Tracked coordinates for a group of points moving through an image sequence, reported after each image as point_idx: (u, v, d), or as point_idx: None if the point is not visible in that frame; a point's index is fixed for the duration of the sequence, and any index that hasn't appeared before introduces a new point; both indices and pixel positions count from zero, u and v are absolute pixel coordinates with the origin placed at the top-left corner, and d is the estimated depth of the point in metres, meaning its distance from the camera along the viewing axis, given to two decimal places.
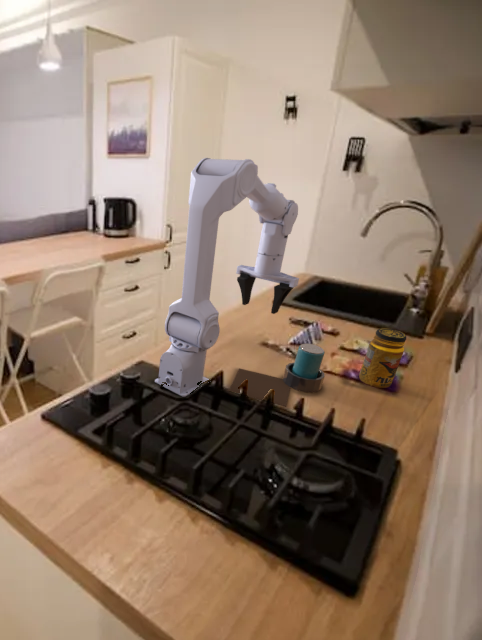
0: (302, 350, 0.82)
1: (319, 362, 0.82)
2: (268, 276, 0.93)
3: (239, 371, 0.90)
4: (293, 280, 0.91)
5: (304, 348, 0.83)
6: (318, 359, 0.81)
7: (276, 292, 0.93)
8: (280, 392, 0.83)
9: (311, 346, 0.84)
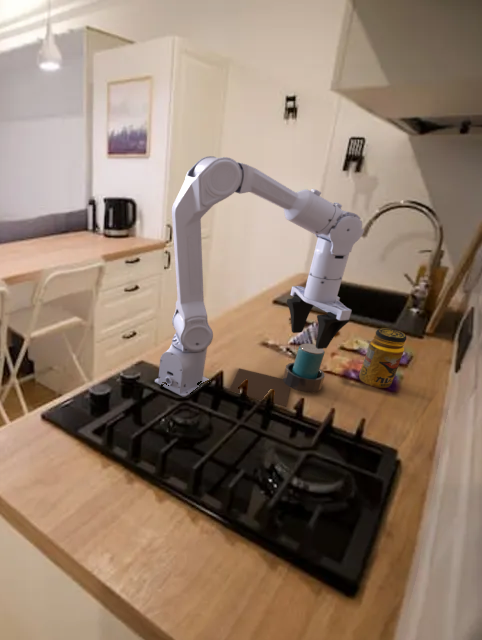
0: (302, 350, 0.82)
1: (319, 362, 0.82)
2: (313, 302, 0.78)
3: (239, 371, 0.90)
4: (340, 311, 0.73)
5: (304, 348, 0.83)
6: (318, 359, 0.81)
7: (320, 323, 0.77)
8: (280, 392, 0.83)
9: (311, 346, 0.84)
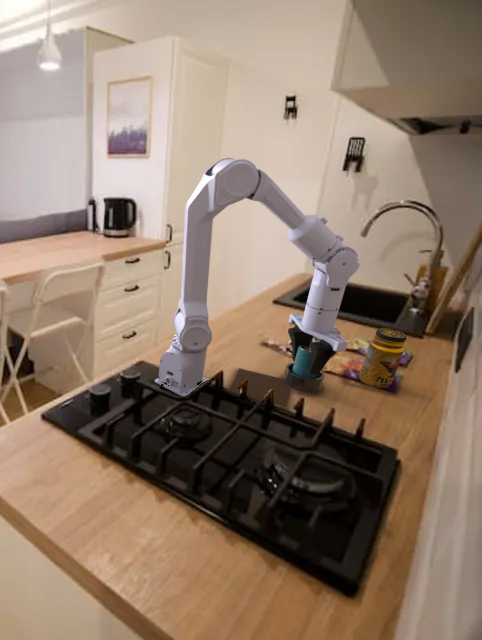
0: (302, 350, 0.82)
1: None
2: (311, 332, 0.79)
3: (239, 371, 0.90)
4: (337, 343, 0.75)
5: (304, 348, 0.83)
6: None
7: (313, 350, 0.79)
8: (280, 392, 0.83)
9: None
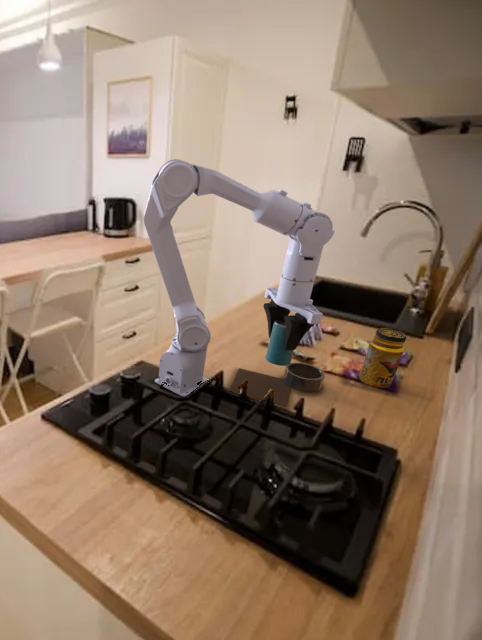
0: (277, 325, 0.79)
1: None
2: (285, 305, 0.75)
3: (239, 371, 0.90)
4: (311, 315, 0.71)
5: (279, 323, 0.79)
6: None
7: (287, 324, 0.76)
8: (280, 392, 0.83)
9: None
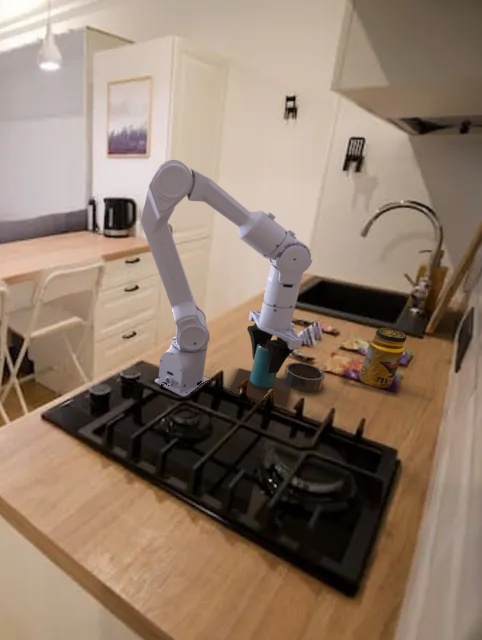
0: (260, 348, 0.81)
1: None
2: (267, 330, 0.77)
3: (239, 371, 0.90)
4: (291, 340, 0.73)
5: (262, 346, 0.81)
6: None
7: (269, 348, 0.77)
8: (280, 392, 0.83)
9: None
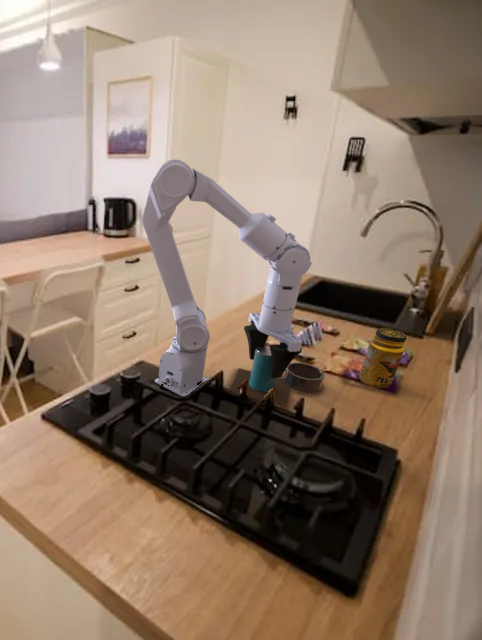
0: (258, 353, 0.81)
1: None
2: (267, 332, 0.77)
3: (239, 371, 0.90)
4: (290, 343, 0.73)
5: (260, 351, 0.81)
6: None
7: (272, 353, 0.76)
8: (280, 392, 0.83)
9: (268, 348, 0.82)
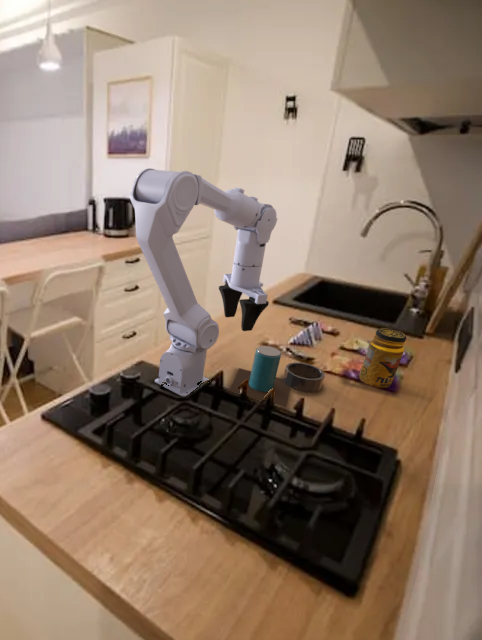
0: (258, 353, 0.81)
1: (276, 365, 0.80)
2: (237, 288, 0.84)
3: (239, 371, 0.90)
4: (257, 295, 0.80)
5: (260, 351, 0.81)
6: (274, 362, 0.80)
7: (242, 307, 0.83)
8: (280, 392, 0.83)
9: (268, 348, 0.82)
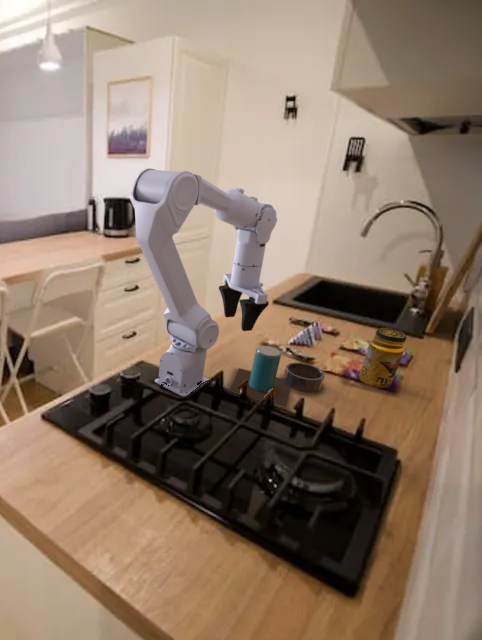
0: (258, 353, 0.81)
1: (276, 365, 0.80)
2: (237, 288, 0.84)
3: (239, 371, 0.90)
4: (257, 295, 0.80)
5: (260, 351, 0.81)
6: (274, 362, 0.80)
7: (242, 307, 0.83)
8: (280, 392, 0.83)
9: (268, 348, 0.82)
